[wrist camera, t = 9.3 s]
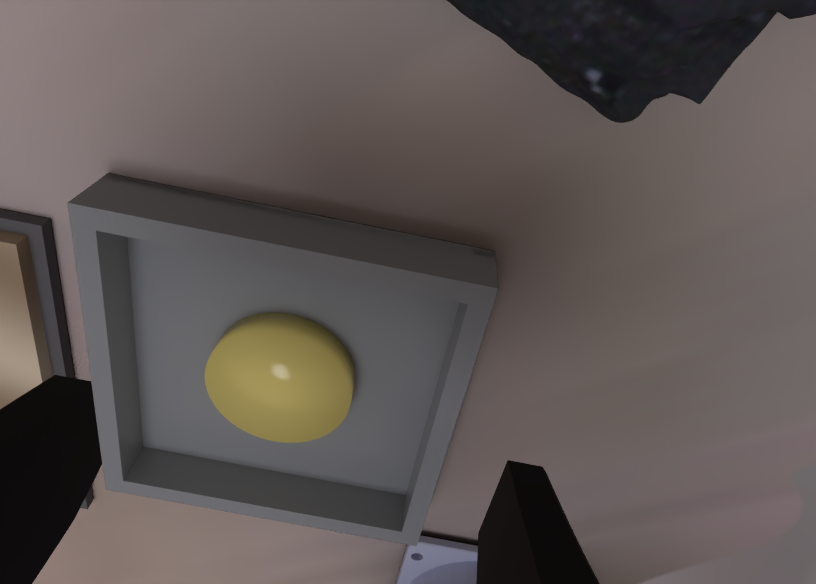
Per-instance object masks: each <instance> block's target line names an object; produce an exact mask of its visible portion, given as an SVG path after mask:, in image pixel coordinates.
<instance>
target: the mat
mask: <svg viewBox="0 0 816 584" xmlns="http://www.w3.org/2000/svg"><path fill="white" fill-rule="evenodd" d="M0 230H1V231H6V232H11V233H16V234H21V235H27V236H28V239H29V245H30V251H31V256H32V262H33V268H34V273H35V279H36V284H37V290H38V296H39V301H40V307H41V313H42V318H43V324H44V329H45V335H46V341H47V346H48V352H49V358H50V363H51V369H52V374H53V376H54V375H59V376H65V377H70V378H75V376H74V369H73V363H72V356H71V350H70V343H69V337H68V330H67V324H66V317H65V311H64V304H63V297H62V291H61V284H60V278H59V271H58V265H57V258H56V252H55V245H54V239H53V232H52V225H51V219H48V218H43V217H38V216H33V215H28V214H23V213H18V212H13V211H8V210H3V209H0ZM92 501H93V494H92V487H90V489H89V492H88V494H87V496H86V497H85V499H84V501H83V503H82V505H81V507H80V508H84V509H88V507H89V506H90V504H91V503H92Z"/></svg>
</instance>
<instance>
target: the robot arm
mask: <svg viewBox="0 0 816 584" xmlns="http://www.w3.org/2000/svg"><path fill="white" fill-rule="evenodd" d="M101 465H102V459H101V451H100V444H99V437H98V429H97V422H96V414H95V407H94V399H93V392H92V384H91V381H86V380H80V379H75V378H70V377H65V376H59V375H54V376H52V377H51V378H49V379H47V380H46V381H44V382H42V383H41V384H39V385H38V386H36V387H34V388H33V389H31V390H30V391H28V392H27V393H25V394H23V395H22V396H20V397H19V398H17V399H15V400H14V401H12V402H11V403H9V404H8V405H6V406H4V407H3V408H1V409H0V584H32V583H33V581H34V580H35V578H36V577H37V575H38V574H39V572H40V571H41V569H42V568H43V566H44V565H45V563H46V562H47V560H48V559H49V557H50V556H51V554H52V553H53V551H54V550H55V548H56V547H57V545H58V544H59V542H60V540H61V539H62V537H63V536H64V534H65V533H66V531H67V530H68V528H69V527H70V525H71V523H72V522H73V520H74V519H75V517H76V515H77V513H78V511H79V509H80V507H81V505H82V503H83V501H84V499H85V497H86V496H87V494H88V492H89V489H90V487H91V485H92V483H93V481H94V479H95V477H96V475H97V473H98V471H99V469H100V467H101ZM395 584H599V582H598V580H597V578H596V576H595V574H594V572H593V570H592V568H591V566H590V565H589V563H588V561H587V559H586V557H585V555H584V553H583V551H582V549H581V547H580V545H579V543H578V541H577V538H576V536H575V534H574V532H573V530H572V528H571V526H570V524H569V522H568V520H567V518H566V515H565V513H564V511H563V509H562V507H561V505H560V502H559V500H558V498H557V496H556V494H555V491H554V489H553V487H552V485H551V482H550V480H549V478H548V476H547V473H546V472H545V470H544V469H543V467H541V466H535V465H530V464H525V463H519V462H514V461H509V460H508V461H507V464H506V466H505V469H504V471H503V474H502V476H501V478H500V481H499V483H498V486H497V488H496V491H495V493H494V496H493V498H492V501H491V503H490V506H489V508H488V511H487V513H486V516H485V518H484V521H483V523H482V526H481V528H480V531H479V534H478V546H476V545H470V544H465V543H459V542H454V541H448V540H443V539H437V538H432V537H427V536H420V537H419V540H418V544H417V546H412V545H407V547H406V551H405V554H404V557H403V560H402V564H401V567H400V570H399V574H398V577H397V580H396V583H395Z"/></svg>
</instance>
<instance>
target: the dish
mask: <svg viewBox="0 0 816 584" xmlns="http://www.w3.org/2000/svg"><path fill="white" fill-rule="evenodd" d="M68 210H69V217H70V225H71V232H72V240H73V247H74V255H75V262H76V270H77V277H78V285H79V292H80V300H81V307H82V315H83V322H84V330H85V337H86V345H87V352H88V360H89V367H90V375H91V382H92V390H93V397H94V405H95V412H96V420H97V427H98V435H99V442H100V450H101V457H102V465H103V472H104V480H105V487H106V490H111V491H117V492H122V493H128V494H133V495H138V496H144V497H149V498H155V499H160V500H166V501H171V502H177V503H182V504H188V505H193V506H199V507H204V508H210V509H215V510H221V511H226V512H231V513H237V514H242V515H248V516H253V517H259V518H264V519H270V520H275V521H281V522H286V523H292V524H297V525H303V526H308V527H314V528H319V529H324V530H330V531H335V532H341V533H346V534H352V535H357V536H363V537H368V538H374V539H379V540H385V541H390V542H396V543H401V544H407V545H412V546H417V544H418V540H419V537H420V534H421V531H422V528H423V525H424V522H425V518H426V515H427V512H428V509H429V506H430V503H431V500H432V496H433V493H434V490H435V487H436V484H437V481H438V478H439V474H440V471H441V468H442V465H443V462H444V459H445V456H446V452H447V449H448V446H449V443H450V440H451V437H452V434H453V431H454V427H455V424H456V421H457V418H458V415H459V412H460V409H461V405H462V402H463V399H464V396H465V393H466V390H467V387H468V383H469V380H470V377H471V374H472V371H473V368H474V365H475V361H476V358H477V355H478V352H479V349H480V346H481V343H482V339H483V336H484V333H485V330H486V327H487V324H488V321H489V318H490V314H491V311H492V308H493V305H494V302H495V299H496V296H497V292H498V289H499V287H498V277H497V267H496V257H495V251H491V250H486V249H481V248H476V247H471V246H466V245H461V244H456V243H451V242H446V241H442V240H437V239H432V238H427V237H422V236H417V235H412V234H407V233H402V232H397V231H392V230H387V229H382V228H377V227H372V226H367V225H362V224H357V223H352V222H347V221H342V220H337V219H332V218H327V217H322V216H317V215H313V214H308V213H303V212H298V211H293V210H288V209H283V208H278V207H273V206H268V205H263V204H258V203H253V202H248V201H243V200H238V199H233V198H228V197H223V196H218V195H213V194H208V193H203V192H198V191H193V190H189V189H184V188H179V187H174V186H169V185H164V184H159V183H154V182H149V181H144V180H139V179H134V178H129V177H124V176H119V175H114V174H109V173H107V174H106V175H105V176H103V177H102V178H101V179H99V180H98V181H97V182H95V183H94V184H92V185H91V186H90V187H88V188H87V189H86V190H84V191H83V192H82V193H80V194H79V195H77V196H76V197H75V198H73V199H72V200H71V201H69V202H68Z"/></svg>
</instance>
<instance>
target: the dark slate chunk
mask: <svg viewBox="0 0 816 584" xmlns="http://www.w3.org/2000/svg"><path fill="white" fill-rule="evenodd" d="M447 1H449V2H450V3H451V4H452V5H454V6H455V7H456V8H457V9H458V10H459V11H460V12H461V13H462V14H464V15H465V16H467V17H468V18H469V19H471V20H473V21H474V22H476V23H477V24H479V25H480V26H482V27H483V28H485V29H487V30H488V31H490V32H492V33H494V34H495V35H497V36H498V37H500V38H501V39H502V40H503V41H505V42H506V43H507V44H508V45H509V46H510V47H511V48H512V49H513V50H515V51H516V52H517V53H518V54H520V55H521V56H523V57H525V58H527V59H529V60H531V61H532V62H534V63H535V64H537V65H538V66H539V67H540V68H541V69H542V70H543V71H544V72H545V73H546V74H547V75H548V76H549V77H550V78H552V79H553V81H554V82H556V83H557V84H558V85H559V86H560V87H562V88H563V89H565V90H566V91H568V92H570V93H572V94H574V95H576V96H578V97H580V98H582V99H583V100H585V101H586V102H588V103H589V104H590V105H591V106H592V107H594V108H595V109H596V110H597V111H598V112H599V113H601V114H602V115H603V116H605V117H606V118H608V119H610V120H612V121H615V122H621V123H623V122H628V121H631V120H634V119H635V118H637V117H638V116H639V115H640V114H641V113H642V111H643V110H644V109H645V107H646V106H647V105H648V104H649V103H650V102H651V101H652V100H653V99H656V98H660V97H663V96H666V95H667V94H669V93H673V94H677V95H680V96H684V97H686V98H689V99H691V100H693V101H694V102H696V103H698V104H700V103H702V101H703V100H704V99H705V98H706V97H707V95H708V94H709V93H710V91H711V90H712V89H713V87H714V86H715V85H716V83H717V82H718V81H719V79H720V78H721V77H722V76H723V74H724V73H725V72H726V70H727V69H728V68H729V67H730V66H731V64H732V63H733V62H734V60H735V59H736V58H737V57H738V56H739V55H740V54H741V53H742V51H743V50H744V49H745V48H746V47H747V46H748V45H750V44H751V42H752V41H753V40H754V39H755V38H756V37H757V36H758V34H759V33H760V32H761V31H762V30H763V29H764V28H765V26H766V25H767V24H768V23H769V21H770V20H771V19H772V17H773V16H774V15H775V14H776V12H779V13H781V14H783V15H784V16H786V17H787V18H789V19H793V18H800V17H805V16H810V15H814V14H816V0H447Z"/></svg>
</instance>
